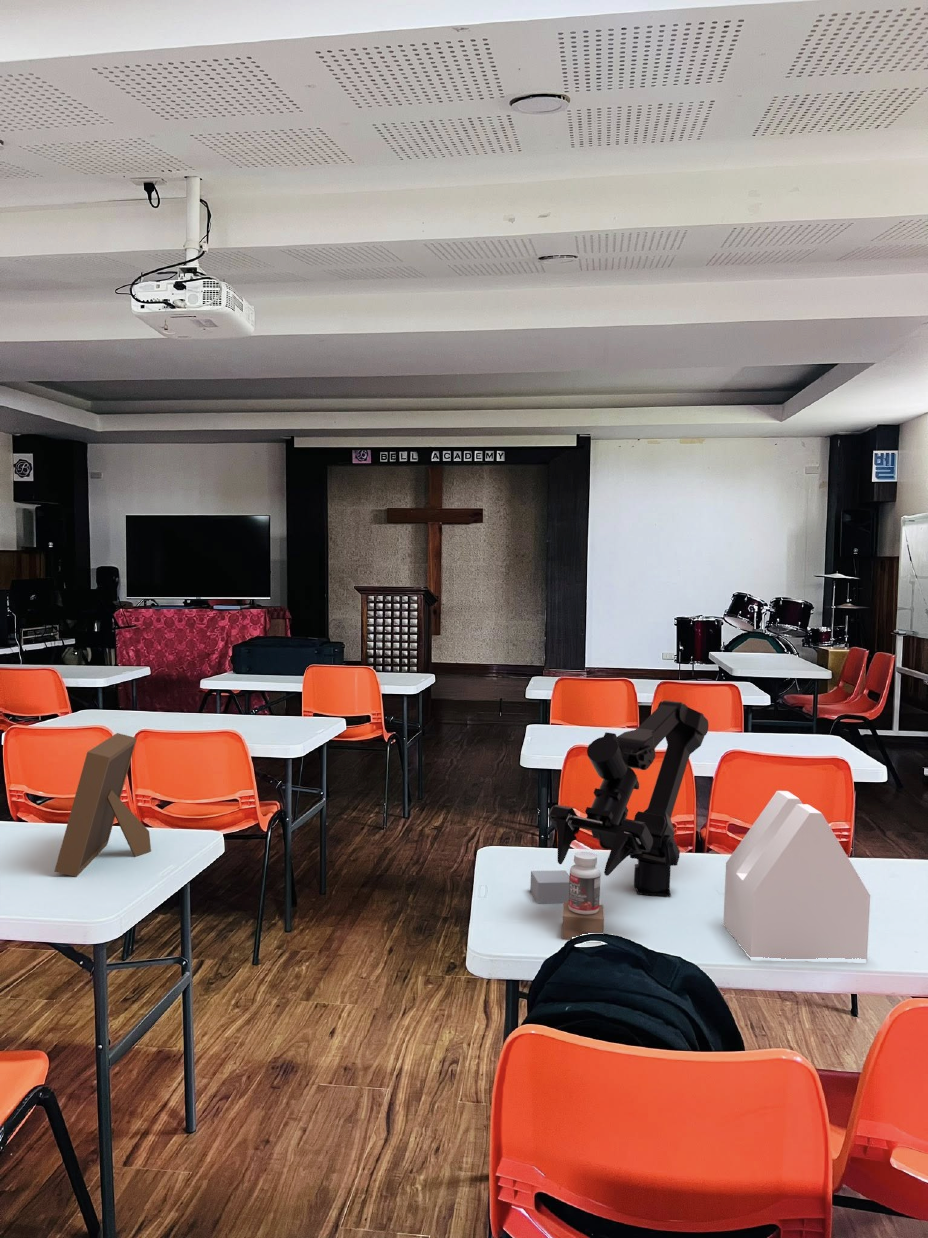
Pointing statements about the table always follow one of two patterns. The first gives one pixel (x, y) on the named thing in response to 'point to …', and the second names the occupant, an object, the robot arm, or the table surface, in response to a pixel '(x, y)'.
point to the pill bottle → (584, 884)
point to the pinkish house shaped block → (795, 888)
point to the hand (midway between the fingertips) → (582, 868)
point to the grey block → (550, 886)
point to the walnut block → (581, 922)
